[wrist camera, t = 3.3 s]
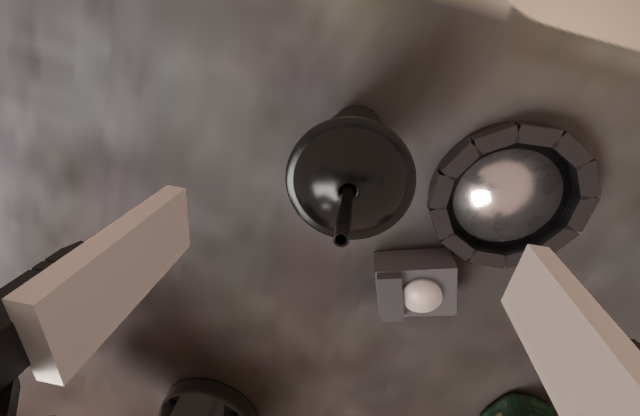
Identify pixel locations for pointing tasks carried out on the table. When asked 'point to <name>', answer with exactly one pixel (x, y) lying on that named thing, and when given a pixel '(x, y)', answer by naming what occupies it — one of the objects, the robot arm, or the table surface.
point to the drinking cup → (351, 176)
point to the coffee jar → (519, 407)
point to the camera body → (415, 283)
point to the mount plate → (512, 192)
